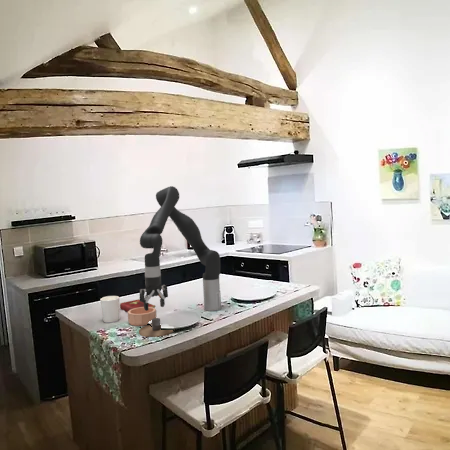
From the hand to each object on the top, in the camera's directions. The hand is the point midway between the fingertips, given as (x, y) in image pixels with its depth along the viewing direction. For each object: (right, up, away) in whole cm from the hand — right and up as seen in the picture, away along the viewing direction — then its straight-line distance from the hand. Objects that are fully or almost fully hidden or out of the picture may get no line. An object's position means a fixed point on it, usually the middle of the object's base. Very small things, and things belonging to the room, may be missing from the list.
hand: (154, 308), depth 214 cm
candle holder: (-26, -11, +22) cm, 36 cm away
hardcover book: (-16, -9, +39) cm, 43 cm away
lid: (+1, -11, +1) cm, 12 cm away
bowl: (-9, -10, +17) cm, 21 cm away
